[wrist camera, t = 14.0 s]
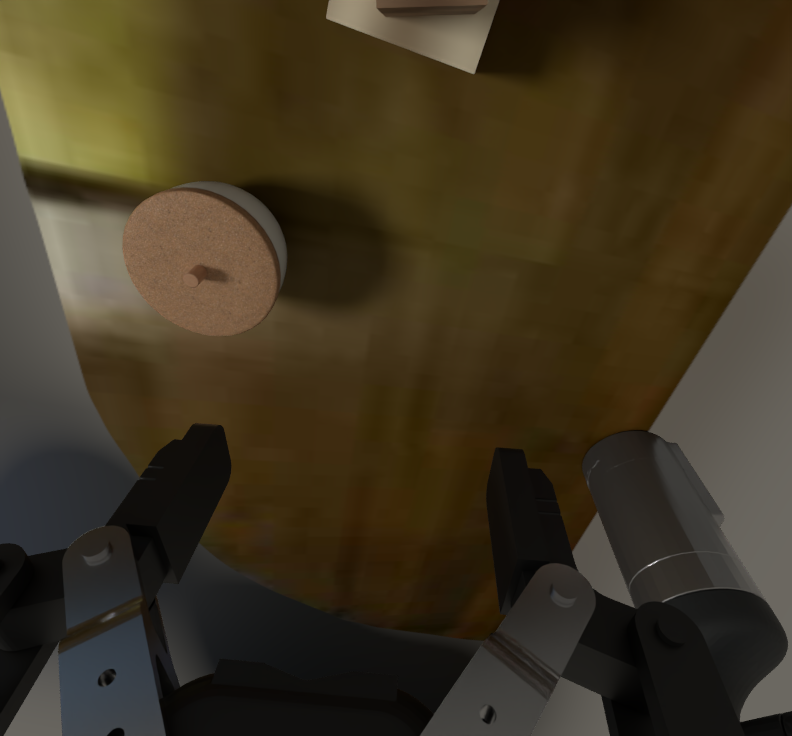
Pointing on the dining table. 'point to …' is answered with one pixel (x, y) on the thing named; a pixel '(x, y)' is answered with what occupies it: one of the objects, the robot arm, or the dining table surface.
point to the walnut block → (429, 7)
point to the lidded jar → (206, 257)
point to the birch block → (422, 30)
